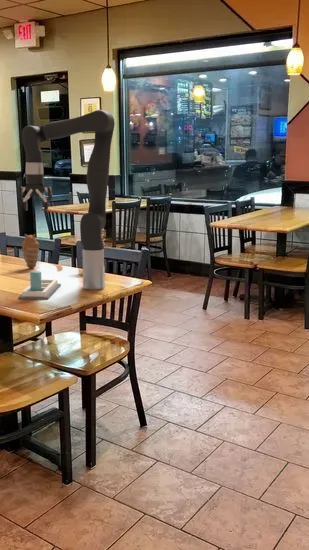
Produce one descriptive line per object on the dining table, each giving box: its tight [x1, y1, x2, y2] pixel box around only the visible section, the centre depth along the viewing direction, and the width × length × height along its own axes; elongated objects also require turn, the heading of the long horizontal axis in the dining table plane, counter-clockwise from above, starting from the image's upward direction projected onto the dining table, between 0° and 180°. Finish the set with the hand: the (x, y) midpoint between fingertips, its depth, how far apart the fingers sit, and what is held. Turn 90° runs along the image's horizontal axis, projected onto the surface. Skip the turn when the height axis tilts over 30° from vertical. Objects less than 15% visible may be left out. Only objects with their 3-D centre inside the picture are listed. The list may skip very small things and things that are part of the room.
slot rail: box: [18, 279, 62, 300], centre depth 226 cm, size 12×25×3 cm, turn 178°
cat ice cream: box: [21, 233, 40, 269], centre depth 274 cm, size 9×8×18 cm
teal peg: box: [29, 270, 42, 291], centre depth 218 cm, size 4×4×9 cm
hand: (36, 210), depth 236 cm, fingers open, 8 cm apart
